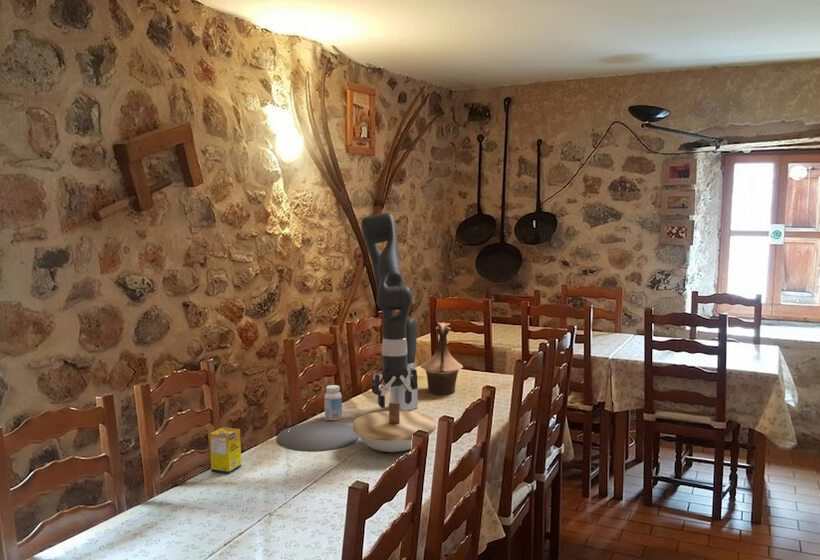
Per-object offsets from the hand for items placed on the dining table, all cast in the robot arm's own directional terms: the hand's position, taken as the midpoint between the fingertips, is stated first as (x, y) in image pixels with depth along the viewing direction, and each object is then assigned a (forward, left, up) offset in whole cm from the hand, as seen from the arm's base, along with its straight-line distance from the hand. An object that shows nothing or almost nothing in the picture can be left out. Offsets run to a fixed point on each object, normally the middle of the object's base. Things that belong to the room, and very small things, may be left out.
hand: (395, 405), depth 199 cm
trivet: (+17, -20, -13) cm, 30 cm away
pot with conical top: (-45, -49, -13) cm, 68 cm away
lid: (0, 0, -7) cm, 7 cm away
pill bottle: (+6, -36, -13) cm, 39 cm away
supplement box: (+49, -6, -13) cm, 51 cm away
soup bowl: (+1, 0, -13) cm, 13 cm away
